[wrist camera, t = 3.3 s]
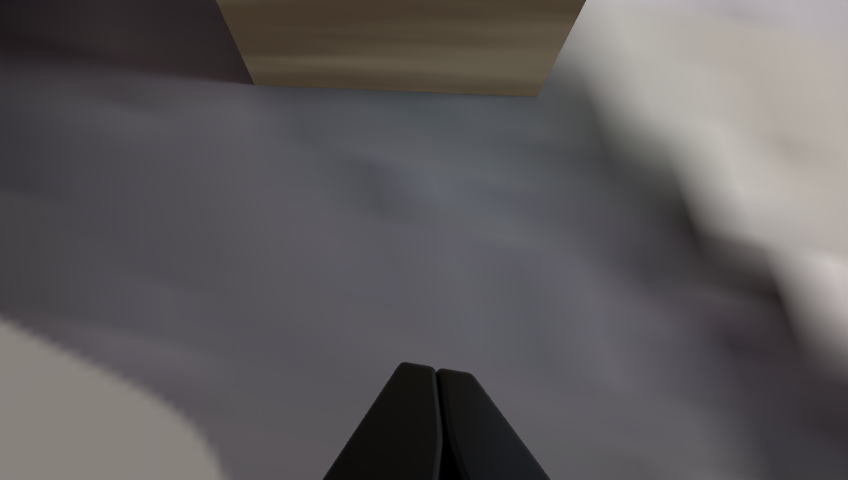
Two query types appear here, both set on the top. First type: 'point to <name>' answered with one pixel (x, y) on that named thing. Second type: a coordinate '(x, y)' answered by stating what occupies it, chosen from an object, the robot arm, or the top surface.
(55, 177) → the top surface
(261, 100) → the top surface
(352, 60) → the oak block
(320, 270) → the top surface
